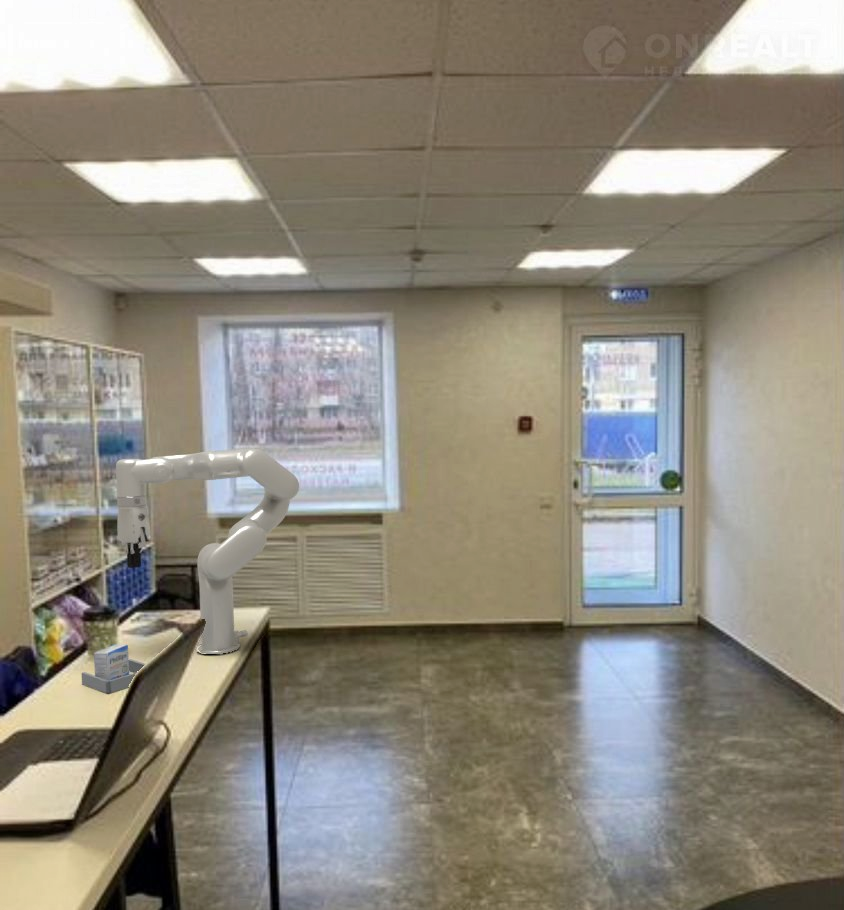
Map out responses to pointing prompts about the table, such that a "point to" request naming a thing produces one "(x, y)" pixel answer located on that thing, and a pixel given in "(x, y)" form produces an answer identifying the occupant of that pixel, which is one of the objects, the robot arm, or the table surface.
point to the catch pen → (113, 684)
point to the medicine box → (112, 662)
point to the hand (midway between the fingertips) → (134, 566)
